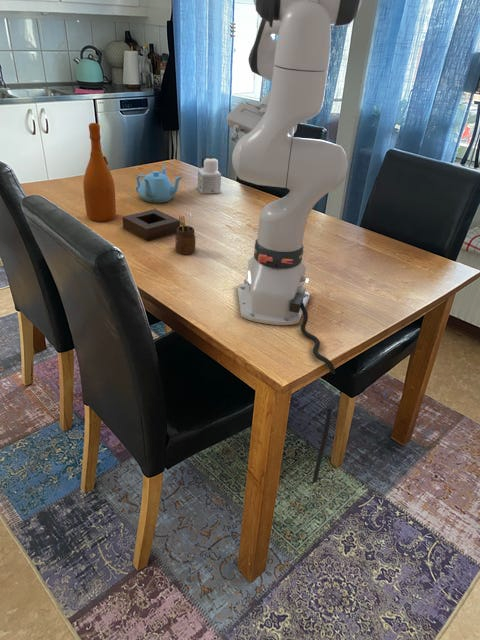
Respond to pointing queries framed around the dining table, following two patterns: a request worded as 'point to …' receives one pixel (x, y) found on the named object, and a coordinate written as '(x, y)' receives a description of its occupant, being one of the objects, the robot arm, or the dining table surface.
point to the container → (209, 176)
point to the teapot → (156, 187)
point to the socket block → (151, 224)
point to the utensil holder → (185, 238)
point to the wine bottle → (98, 182)
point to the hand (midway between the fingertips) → (246, 145)
